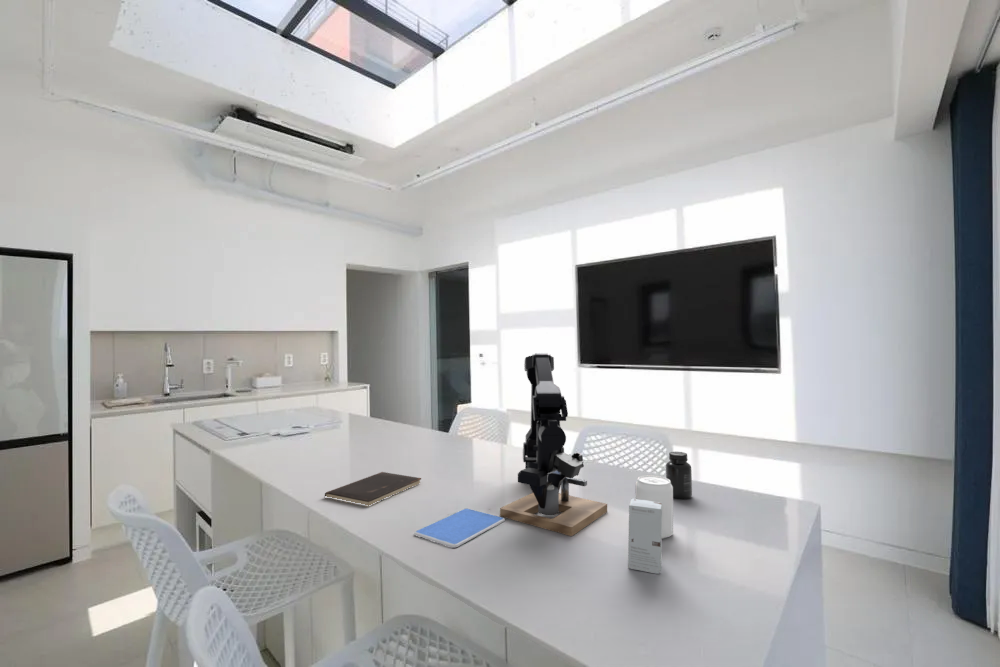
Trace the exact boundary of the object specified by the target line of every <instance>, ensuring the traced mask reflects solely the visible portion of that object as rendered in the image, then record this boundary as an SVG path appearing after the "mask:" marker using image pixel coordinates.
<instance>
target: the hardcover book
mask: <svg viewBox="0 0 1000 667" xmlns="http://www.w3.org/2000/svg"><path fill="white" fill-rule="evenodd" d="M421 480H422V477H415V476H411V475H410V476H409V475H402V474H398V473H391V472H386V471H381V472H378V473H375V474H372V475H369V476H367V477H364V478H362V479H358V480H355V481H353V482H350V483H348V484H345V485H343V486H340V487H337V488H334V489H332V490H329V491H327V492H325V493H324V497H325V496H327V497H332V498H337V499H342V500H346V501H351V502H355V503H361V504H365V505H368V506H369V505H371V504H373V503H375V502H377V501H380V500H382V499H384V498H386V497H389V496H391V495H393V494H396V493H398V492H400V491H403V490H405V489H407V488H409V487H412V486H414V487H416V486H418V485H417V484H419V483H420V484H421ZM420 484H419V485H420ZM415 485H416V486H415ZM412 488H413V487H412ZM407 490H408V489H407ZM405 491H406V490H405ZM403 492H404V491H403ZM398 494H399V493H398ZM396 495H397V494H396ZM389 498H390V497H389ZM369 507H370V506H369Z"/></svg>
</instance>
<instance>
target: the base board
mask: <svg viewBox="0 0 1000 667" xmlns="http://www.w3.org/2000/svg"><path fill="white" fill-rule="evenodd" d="M607 512H608V503H606V502H600V501H596V500H592V499H588V498H587V499H586V498H584V497H583V498H582V497H577V496H573V495H570V494H569V501H562V500H561V492H559V515H558V514H557V516H555V517H553V518H550V517H546V516H541V515H537V514H538V513H539V512H538V502H537V499H536V497H535V495H534V493H533V492H532V493H529V494H527V495H525V496H523V497H521V498H519V499H517V500H516V499H515V500H514V501H512V502H509V503H508V504H506V505H504V506H502V507H499V517H502V518H504V519H505V518H506V519H508V520H513V521H515V522H518V523H519V522H520V523H523V524H527V525H531V526H534V527H538V528H540V529H544V530H548V531H550V532H551V531H552V532H554V533H558V534H562V535H566V536H570V537H573V536H575V535H576V534H577V533H579V532H580V531H582V530H583V529H584V528H586V527H587V526H589V525H590V524H592V523H593V522H594V521H596V520H597V519H599V518H600V517H602V516H603V515H605V514H606V513H607Z"/></svg>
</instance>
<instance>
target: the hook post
mask: <svg viewBox="0 0 1000 667" xmlns="http://www.w3.org/2000/svg"><path fill="white" fill-rule="evenodd" d="M569 484H571V485H575V486H579V487H580V486H581V487H586V486H588V480H587V479H582V478H576V477H573V478H568V477H566V478H565V479H564V480H563V481H562V483H561V486H560V493H561V500H562V501H569V495H570V485H569Z"/></svg>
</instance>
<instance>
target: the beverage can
mask: <svg viewBox="0 0 1000 667" xmlns="http://www.w3.org/2000/svg"><path fill="white" fill-rule="evenodd" d="M634 494H635V495H634V496H635V498H634V499H638V500H647V501H653V502H659V503H662V539H667V538H669V537H671V536H673V534H674V498H673V487H672V485H671V481H670V480H669V479H667V478H666V477H664V476H660V475H653V474H652V475H647V474H646V475H640V476H638V477H637V480H636V482H635V493H634Z"/></svg>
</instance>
